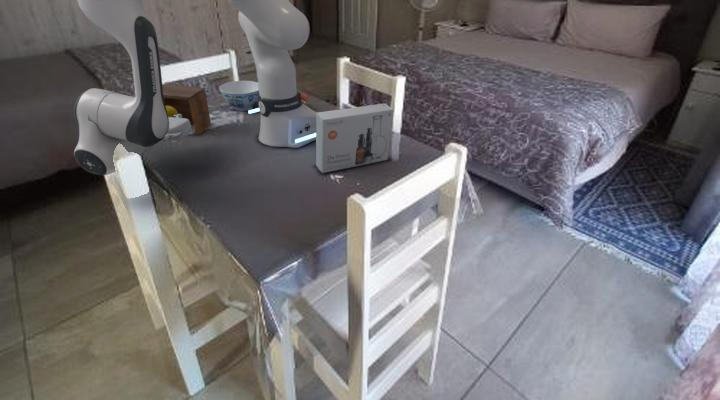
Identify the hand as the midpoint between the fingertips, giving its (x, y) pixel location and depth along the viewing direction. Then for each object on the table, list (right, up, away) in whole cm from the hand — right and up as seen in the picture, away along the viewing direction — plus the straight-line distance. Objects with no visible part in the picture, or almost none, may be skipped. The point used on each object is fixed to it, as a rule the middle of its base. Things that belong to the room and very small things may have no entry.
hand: (166, 115), depth 109 cm
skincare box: (+52, -13, +4) cm, 53 cm away
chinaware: (+10, +11, +37) cm, 40 cm away
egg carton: (+29, +11, +39) cm, 50 cm away
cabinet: (-4, 0, +20) cm, 20 cm away
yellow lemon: (0, -4, +3) cm, 5 cm away
